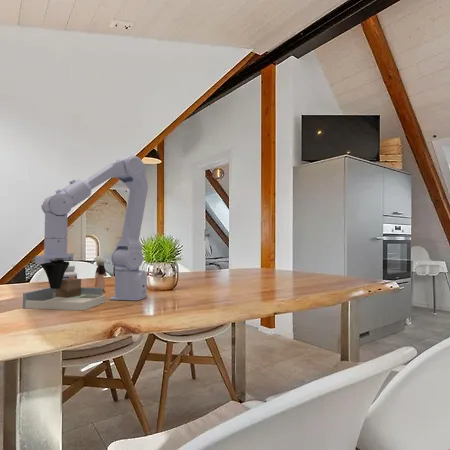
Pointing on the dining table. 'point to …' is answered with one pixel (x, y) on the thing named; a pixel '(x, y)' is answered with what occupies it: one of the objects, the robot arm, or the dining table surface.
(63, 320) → the dining table surface
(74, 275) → the pill bottle
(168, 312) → the dining table surface
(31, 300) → the board
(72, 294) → the walnut block
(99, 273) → the grandmother figurine
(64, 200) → the robot arm
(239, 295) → the dining table surface
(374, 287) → the dining table surface
